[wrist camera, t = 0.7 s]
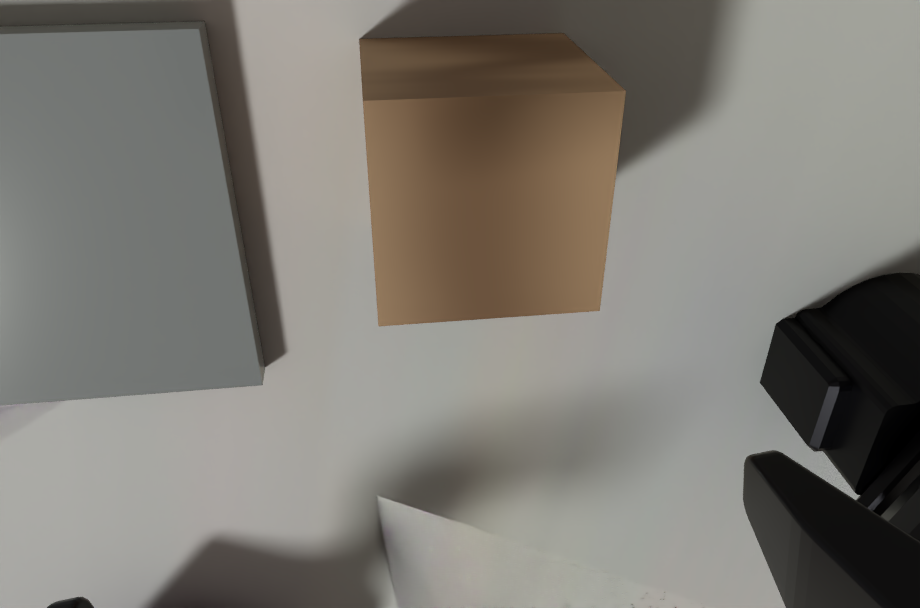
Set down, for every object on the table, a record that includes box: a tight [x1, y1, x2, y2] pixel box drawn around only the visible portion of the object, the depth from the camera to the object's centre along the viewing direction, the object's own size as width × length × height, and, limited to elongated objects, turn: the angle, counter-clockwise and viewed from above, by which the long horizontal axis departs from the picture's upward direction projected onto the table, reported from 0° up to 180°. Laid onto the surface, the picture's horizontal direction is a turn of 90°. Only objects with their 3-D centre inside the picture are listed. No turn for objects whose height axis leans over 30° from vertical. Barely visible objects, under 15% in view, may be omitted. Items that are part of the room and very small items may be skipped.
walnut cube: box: [359, 33, 626, 326], centre depth 17 cm, size 5×5×5 cm
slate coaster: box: [0, 21, 265, 405], centre depth 19 cm, size 10×10×1 cm
